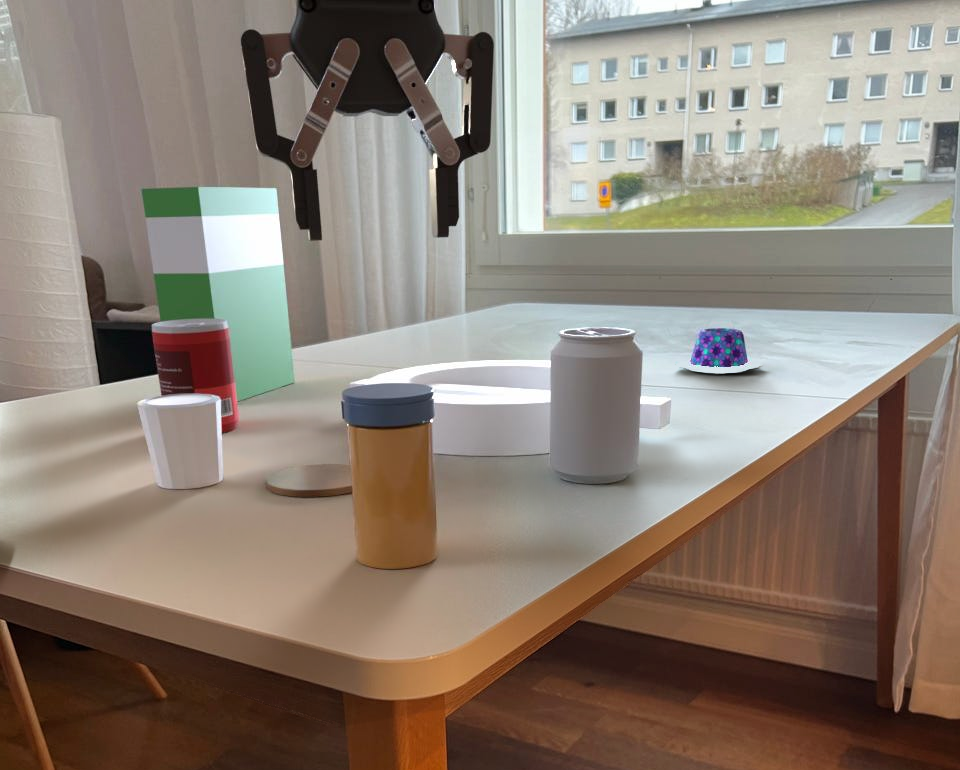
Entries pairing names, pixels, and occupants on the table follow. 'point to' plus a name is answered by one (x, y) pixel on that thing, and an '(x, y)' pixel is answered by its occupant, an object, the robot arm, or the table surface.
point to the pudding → (719, 348)
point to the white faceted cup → (184, 439)
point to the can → (595, 404)
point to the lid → (388, 404)
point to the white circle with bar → (496, 405)
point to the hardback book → (225, 273)
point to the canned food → (197, 362)
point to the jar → (393, 494)
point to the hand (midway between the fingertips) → (379, 237)
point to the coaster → (311, 480)
